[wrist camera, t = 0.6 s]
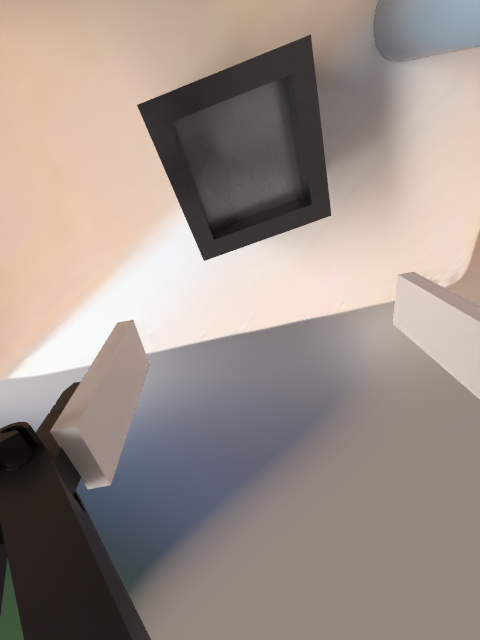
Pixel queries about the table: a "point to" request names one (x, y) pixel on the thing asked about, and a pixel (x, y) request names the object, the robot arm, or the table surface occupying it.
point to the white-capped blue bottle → (425, 27)
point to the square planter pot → (245, 149)
